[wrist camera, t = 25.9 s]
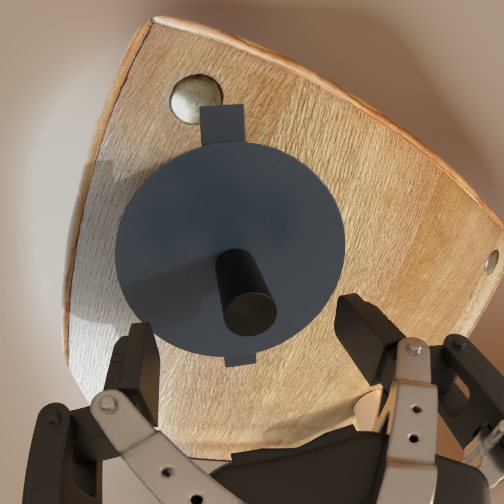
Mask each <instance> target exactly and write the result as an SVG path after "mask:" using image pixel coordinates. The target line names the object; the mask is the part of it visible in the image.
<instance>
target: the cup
mask: <svg viewBox="0 0 504 504" xmlns="http://www.w3.org/2000/svg"><path fill="white" fill-rule="evenodd" d="M380 392H381V390H375V391H372V392H369V393H367V394H366V395H364V396H363V397H361V398H360V399H359V400H358V401H357V402H356V404H355V406H354V413H355V416H356V419H357V422H358V425H359V429H360V431H372V429H373V426H374V423H375V418H376V413H377V408H378V403H379V398H380Z"/></svg>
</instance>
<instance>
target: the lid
mask: <svg viewBox="0 0 504 504" xmlns="http://www.w3.org/2000/svg"><path fill="white" fill-rule="evenodd" d="M344 256H345V233H344V225H343V222H342V218H341V214H340V211H339V209H338V206H337V204H336V201H335V199H334V198H333V196H332V194H331V193H330V191H329V189H328V188H327V186H326V185H325V184H324V183H323V181H322V180H321V179H320V178H319V177H318V175H316V174H315V173H314V172H313V171H312V170H311V169H310V168H309V167H308V166H306V165H305V164H304V163H302V162H301V161H299V160H298V159H296V158H294V157H293V156H291V155H289V154H287V153H284V152H282V151H280V150H278V149H275V148H271V147H268V146H265V145H261V144H254V143H247V142H223V143H216V144H209V145H205V146H202V147H199V148H195V149H192V150H190V151H187V152H185V153H183V154H181V155H179V156H177V157H175V158H173V159H172V160H170V161H169V162H167V163H166V164H164V165H162V166H161V167H160V168H159V169H158V170H156V171H155V172H154V173H153V174H152V175H151V176H150V177H148V178H147V179H146V181H145V182H144V183H143V184H142V185H141V186H140V188H139V189H138V190H137V191H136V193H135V194H134V196H133V197H132V199H131V201H130V202H129V204H128V205H127V207H126V210H125V212H124V214H123V217H122V219H121V222H120V225H119V229H118V233H117V238H116V247H115V262H116V270H117V276H118V280H119V283H120V286H121V289H122V292H123V294H124V296H125V298H126V300H127V302H128V304H129V306H130V308H131V309H132V310H133V312H134V313H135V315H136V316H137V317H138V318H139V320H140V321H141V322H142V323H144V322H150V324H151V327H152V330H153V333H154V334H155V335H157V336H158V337H160V338H161V339H163V340H164V341H166V342H168V343H170V344H172V345H174V346H176V347H178V348H180V349H183V350H186V351H189V352H192V353H196V354H201V355H206V356H215V357H234V356H243V355H248V354H253V353H257V352H260V351H264V350H267V349H269V348H272V347H274V346H276V345H279V344H281V343H282V342H284V341H286V340H288V339H290V338H291V337H293V336H294V335H296V334H297V333H298V332H300V331H301V330H303V329H304V328H305V327H306V326H307V325H308V324H309V323H311V322H312V321H313V319H314V318H315V317H316V316H317V315H318V314H319V313H320V312H321V310H322V309H323V308H324V306H325V305H326V304H327V302H328V301H329V299H330V297H331V295H332V294H333V292H334V290H335V288H336V285H337V283H338V281H339V278H340V275H341V271H342V268H343V262H344Z"/></svg>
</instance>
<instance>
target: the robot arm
mask: <svg viewBox="0 0 504 504" xmlns="http://www.w3.org/2000/svg"><path fill="white" fill-rule="evenodd" d="M334 330H335V334H336V336H337V338H338V339H339V341H340V342H341V344H342V345H343V347H344V348H345V350H346V351H347V352H348V354H349V355H350V357H351V358H352V360H353V361H354V363H355V364H356V366H357V367H358V369H359V370H360V371H361V373H362V374H363V376H364V377H365V379H366V380H367V382H368V383H369V385H370V386H374V385H377V384H379V383H381V385H382V386H383V387H382V389H381V392H380V398H379V403H378V408H377V413H376V418H375V423H374V426H373V429H372V431H356V429H355V427H354V426H353V424H351V425H348V426H346V427H343V428H340V429H336V430H333V431H330V432H327V433H324V434H323V435H321V436H319V437H317V438H315V439H314V440H312V441H310V442H308V443H306V444H304V445H302V446H300V447H298V448H262V449H257V450H251V451H245V452H239V453H232V454H231V458H232V461H231V462H229V463H226V464H224V465H222V466H220V467H218V468H217V469H215V470H214V471H212V472H211V473H210V474H207V473H206V472H205V471H203V470H202V469H201V468H200V467H199V466H198V465H196V464H195V463H194V462H193V461H192V460H191V459H190V458H189V457H188V456H186V455H185V454H184V453H183V452H182V451H181V450H180V449H179V448H178V447H177V446H176V445H175V444H174V443H173V442H172V441H171V440H170V439H169V438H168V437H167V436H166V435H165V434H164V433H162V432H161V431H160V430H158V431H157V430H156V429H155V428H154V427H158V401H159V377H160V356H159V351H158V347H157V344H156V341H155V337H154V334H153V330H152V327H151V324H150V322H144V323H132V324H131V327H130V331H129V336H121V337H120V339H119V340H118V341H117V342H116V344H115V345H114V349H113V352H112V356H111V360H110V364H109V368H108V372H107V377H106V381H105V386H104V390H103V391H102V392H100V393H99V394H97V395H96V396H95V397H94V398H93V400H92V402H91V405H90V406H87V407H85V408H80V409H76V410H72V411H69V409H68V408H67V407H66V406H65V405H64V404H61V403H51V404H48V405H46V406H45V407H44V408H42V409H41V411H40V412H39V414H38V418H37V421H36V425H35V430H34V434H33V438H32V442H31V447H30V452H29V457H28V463H27V469H26V475H25V482H24V490H23V499H22V504H102V463H103V462H102V461H103V460H107V459H111V458H115V457H119V456H121V457H122V459H123V460H124V461H125V462H126V463H127V465H128V466H129V468H130V469H131V470H132V471H133V472H134V474H135V475H136V476H137V477H138V478H139V480H140V481H141V482H142V483H143V484H144V485H145V486H146V488H147V489H148V490H149V491H150V492H151V493H152V494H153V495H154V496H155V497H156V498H157V499H158V501H159V502H160V503H161V504H491V501H490V489H492V488H493V487H494V486H496V485H497V484H499V483H500V482H502V481H503V480H504V377H503V376H502V374H501V373H500V372H499V371H498V370H497V369H496V368H495V367H494V366H493V365H492V364H491V363H490V361H489V360H488V359H487V358H486V357H485V356H484V355H483V354H482V353H481V352H480V351H479V350H478V349H477V348H476V347H475V346H474V345H473V344H472V343H471V342H470V341H469V340H468V339H467V338H466V337H464V336H462V335H459V334H450V335H448V336H446V338H445V340H444V342H443V345H437V346H428V345H427V344H426V343H425V342H424V341H423V340H421V339H418V338H414V337H406V336H405V335H404V334H403V333H402V332H401V331H400V330H399V329H398V328H397V327H396V326H395V325H394V324H393V323H392V322H391V321H390V320H389V319H388V318H387V316H386V315H383V312H382V311H381V310H380V309H379V308H378V307H377V306H375V305H373V304H371V303H369V302H365V301H364V300H363V299H362V298H361V297H360V296H359V295H358V294H357V293H352V294H347V295H342V296H339V298H338V301H337V308H336V315H335V322H334ZM458 376H459V377H460V379H461V380H462V381H463V382H464V383H465V385H466V386H467V387H468V389H469V391H470V397H469V399H467V397H466V396H465V395H464V393H463V392H462V391H461V390H460V389H459V387H458V386H457V384H456V383H455V381H456V380H457V378H458ZM437 412H439V414H440V415H441V417H442V418H443V420H444V421H445V423H446V424H447V426H448V427H449V429H450V430H451V432H452V433H453V435H454V436H455V438H456V439H457V441H458V442H459V444H460V446H461V447H462V449H463V450H464V460H463V462H459V461H455V460H452V459H449V458H446V457H443V456H440V455H437V454H435V451H436V438H437V414H438V413H437Z"/></svg>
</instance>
